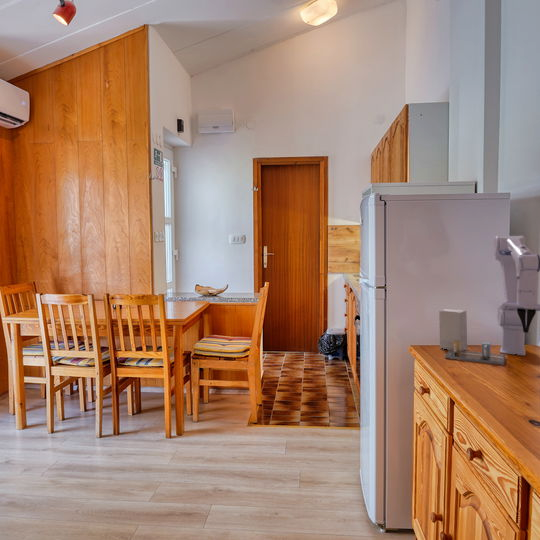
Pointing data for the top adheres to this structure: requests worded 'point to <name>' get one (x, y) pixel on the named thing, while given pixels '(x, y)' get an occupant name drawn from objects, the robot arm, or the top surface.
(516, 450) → the top surface
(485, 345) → the sliding leg
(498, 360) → the bolt plate
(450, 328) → the skincare box
